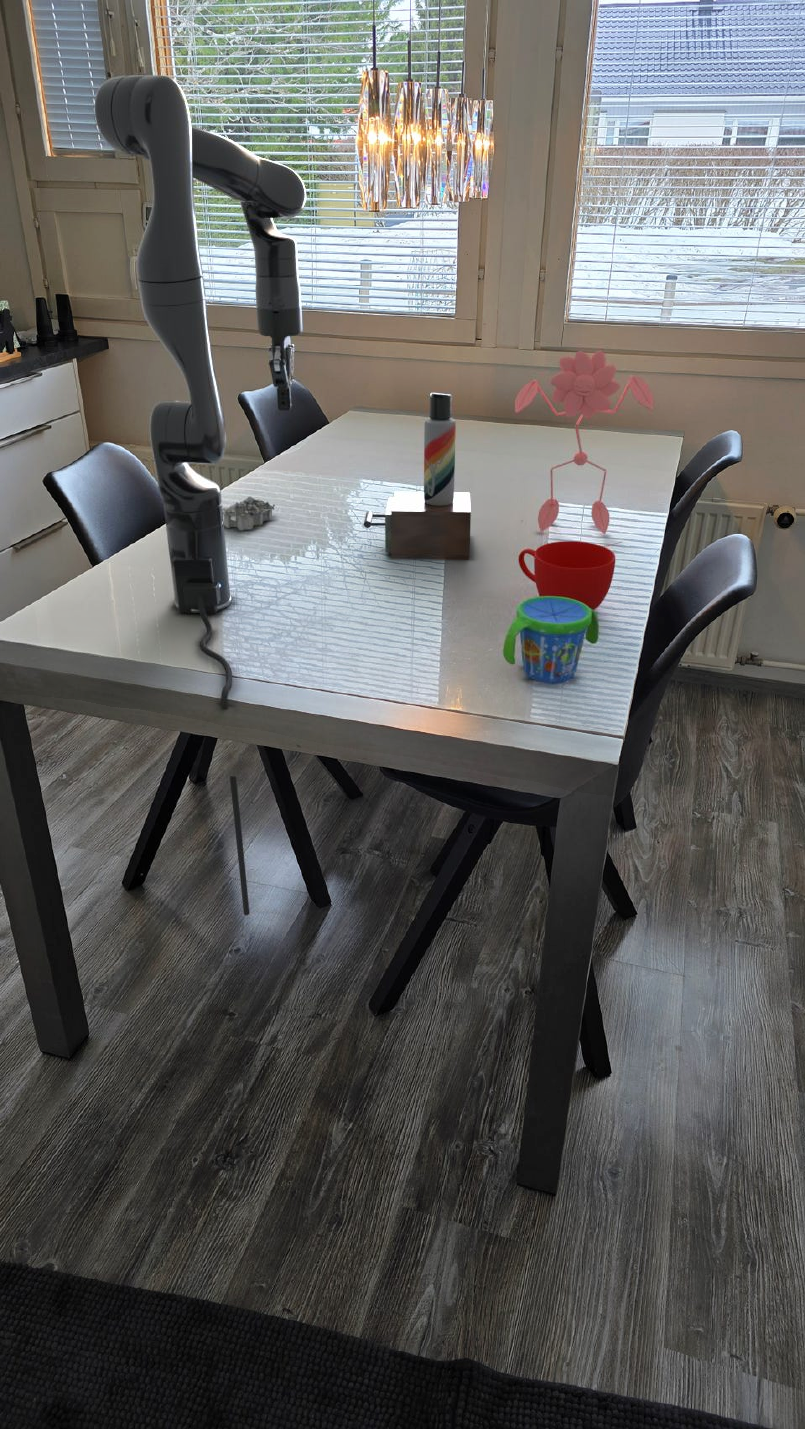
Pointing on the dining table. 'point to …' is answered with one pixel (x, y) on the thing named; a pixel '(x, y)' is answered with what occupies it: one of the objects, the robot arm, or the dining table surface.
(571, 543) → the ceramic cup
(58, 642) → the dining table surface
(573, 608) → the snack cup
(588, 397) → the figurine
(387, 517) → the drawer
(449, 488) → the lotion bottle
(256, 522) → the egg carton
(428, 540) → the cabinet
